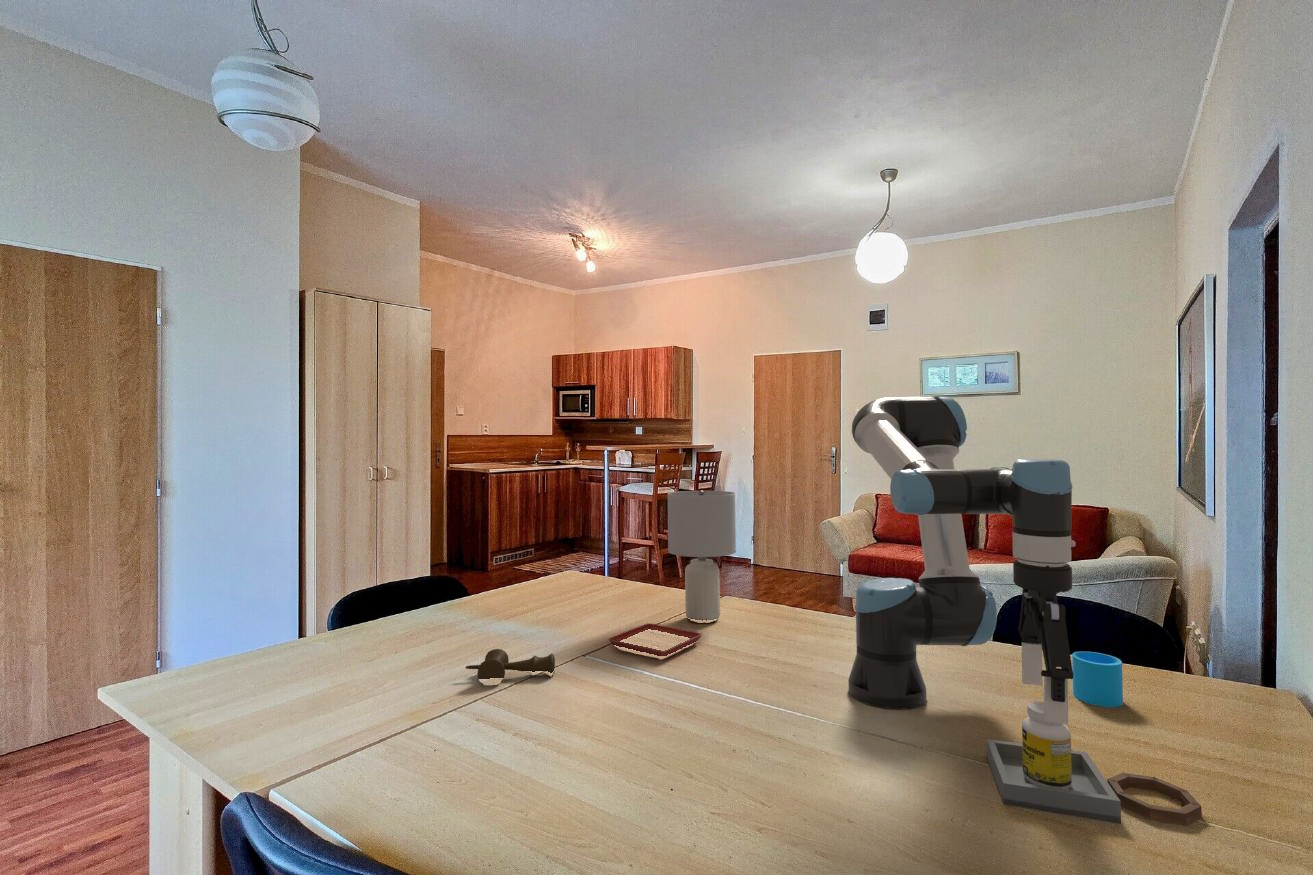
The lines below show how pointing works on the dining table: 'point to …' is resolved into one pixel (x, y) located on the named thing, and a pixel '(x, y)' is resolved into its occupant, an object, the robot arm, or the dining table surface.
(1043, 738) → the pill bottle
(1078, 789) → the tray
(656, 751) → the dining table surface
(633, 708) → the dining table surface
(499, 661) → the kendama
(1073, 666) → the mug
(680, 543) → the lamp
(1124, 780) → the collar socket
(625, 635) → the plant saucer
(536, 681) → the dining table surface
